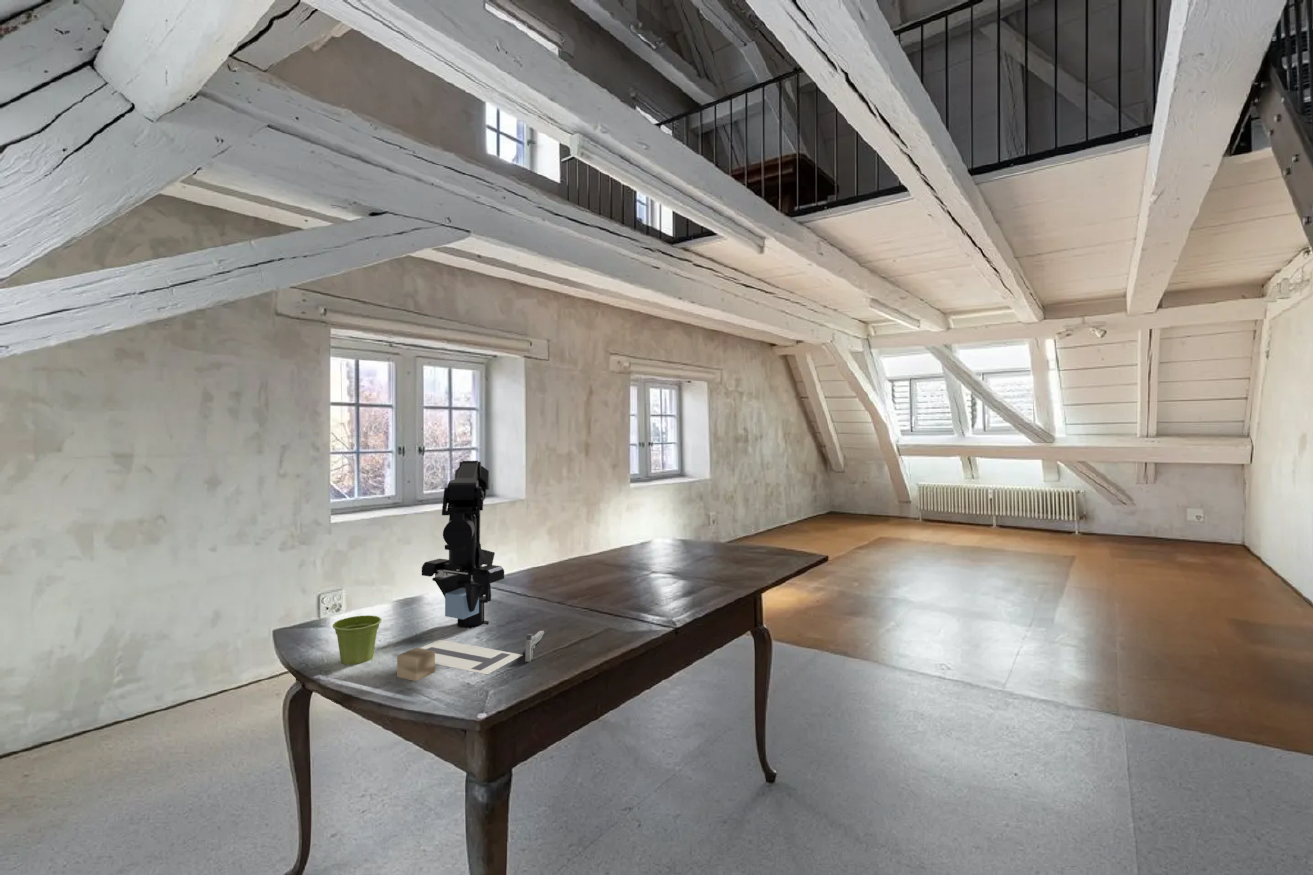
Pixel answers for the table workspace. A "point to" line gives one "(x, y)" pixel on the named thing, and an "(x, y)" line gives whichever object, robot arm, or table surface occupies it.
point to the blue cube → (458, 605)
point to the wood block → (415, 664)
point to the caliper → (532, 644)
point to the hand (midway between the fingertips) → (462, 609)
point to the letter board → (469, 656)
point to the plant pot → (357, 638)
